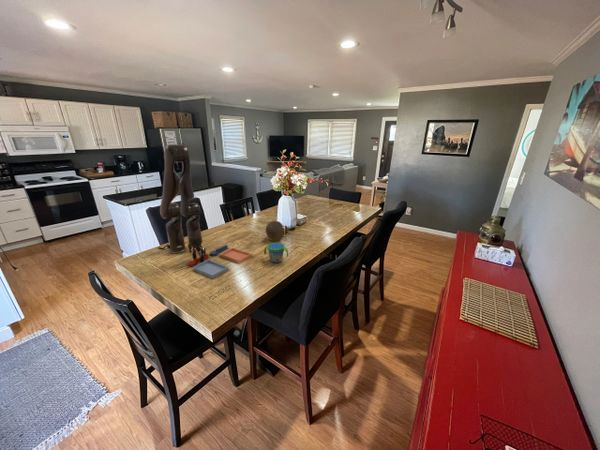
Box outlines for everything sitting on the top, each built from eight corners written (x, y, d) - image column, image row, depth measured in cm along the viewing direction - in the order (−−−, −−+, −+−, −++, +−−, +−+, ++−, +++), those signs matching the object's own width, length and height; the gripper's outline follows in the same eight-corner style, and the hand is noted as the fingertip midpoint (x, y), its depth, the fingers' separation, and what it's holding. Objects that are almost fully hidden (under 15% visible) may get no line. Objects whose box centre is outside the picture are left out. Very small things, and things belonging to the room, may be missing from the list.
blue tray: (193, 270, 140) (192, 267, 139) (209, 262, 149) (208, 259, 148) (212, 278, 131) (212, 275, 131) (228, 269, 140) (228, 266, 140)
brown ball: (288, 240, 182) (288, 221, 177) (274, 245, 172) (273, 226, 167) (276, 235, 191) (275, 217, 186) (262, 240, 181) (261, 221, 176)
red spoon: (191, 267, 142) (190, 263, 142) (186, 265, 145) (185, 261, 144) (209, 258, 153) (209, 254, 152) (205, 256, 156) (204, 253, 155)
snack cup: (291, 258, 154) (290, 244, 150) (284, 266, 144) (283, 251, 141) (269, 254, 159) (268, 240, 155) (261, 261, 150) (260, 247, 146)
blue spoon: (213, 256, 156) (213, 253, 155) (208, 254, 158) (208, 251, 157) (229, 249, 166) (229, 245, 166) (224, 247, 169) (224, 244, 168)
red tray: (220, 256, 156) (219, 253, 155) (233, 250, 165) (232, 247, 164) (239, 263, 147) (239, 260, 147) (251, 256, 156) (251, 253, 156)
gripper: (207, 236, 143) (211, 261, 148) (192, 231, 150) (196, 255, 155) (196, 240, 137) (200, 266, 142) (181, 235, 144) (186, 260, 149)
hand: (198, 260), depth 149 cm, fingers open, 6 cm apart
